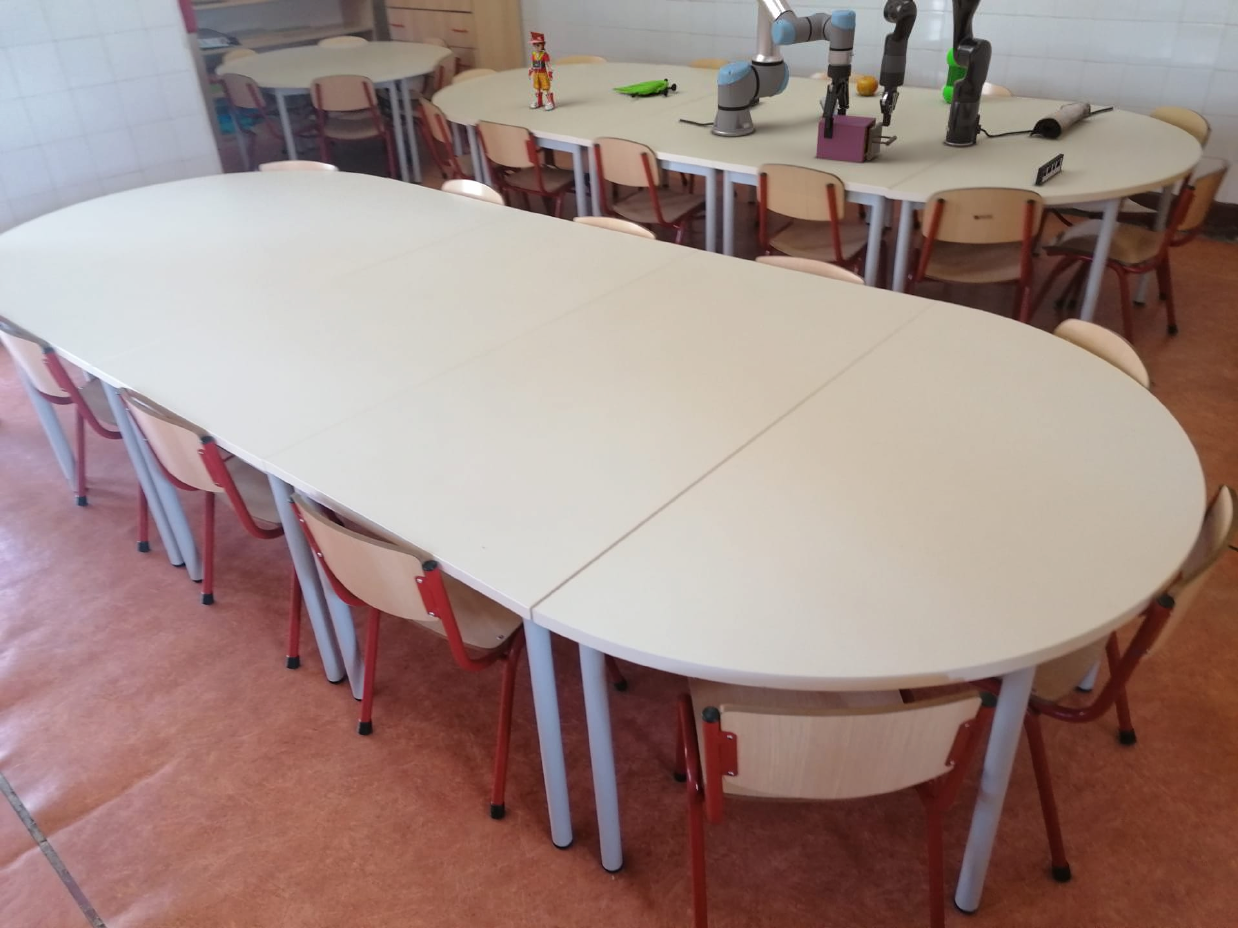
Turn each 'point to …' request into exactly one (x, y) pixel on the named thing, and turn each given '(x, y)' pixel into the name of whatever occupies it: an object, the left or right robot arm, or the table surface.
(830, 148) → the cabinet
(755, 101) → the disk drive
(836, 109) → the anatomical model
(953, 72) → the green dumbbell
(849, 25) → the left robot arm
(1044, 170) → the midi keyboard
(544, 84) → the toy
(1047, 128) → the rolled mat
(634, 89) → the toy
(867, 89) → the fruit
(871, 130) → the drawer
